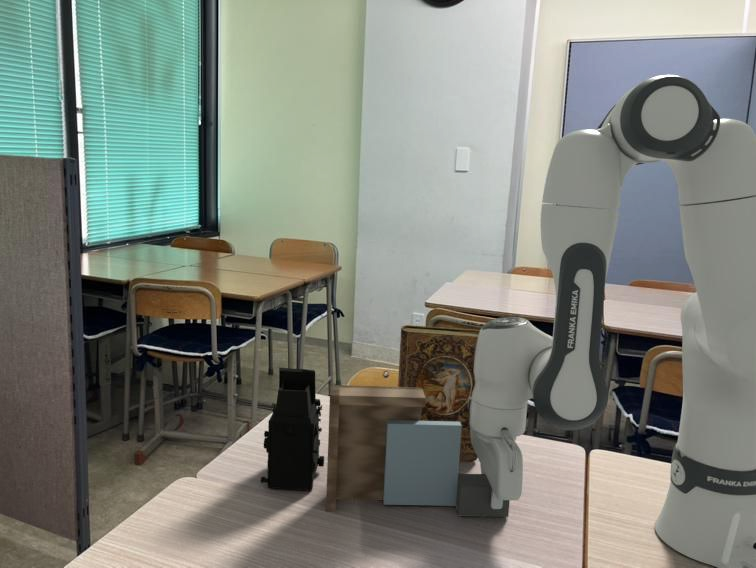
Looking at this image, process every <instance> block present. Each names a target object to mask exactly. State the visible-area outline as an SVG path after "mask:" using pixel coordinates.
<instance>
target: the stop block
mask: <svg viewBox="0 0 756 568" xmlns="http://www.w3.org/2000/svg"><path fill="white" fill-rule="evenodd" d="M490 494H492V487H491V485H490V483H489V480H488V478H487V476H486V474H481V473H458V484H457V498H456V506H455V508H456V510H457V515H458V517H498V518H500V517H501V518H502V517H504V518H505V517H506V518H508V517H509V515H510V514H509V513H510V501H511V500H503V506H502V508H501V509H493V508H492V507H491V505H490V502H489V500H490Z"/></svg>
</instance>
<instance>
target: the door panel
mask: <svg viewBox="0 0 756 568" xmlns="http://www.w3.org/2000/svg"><path fill="white" fill-rule="evenodd" d="M461 429H462V425H461V423H460V422H451V421H411V420H387V432H386V452H385V471H384V491H383V500H382V501H383V505H386V506H387V505H390V506H391V505H392V506H441V507H442V506H444V507H445V506H447V507H448V506H449V507H450V506H451V507H453V506H454V507H456V498H457V484H458V474H459V468H460V461H459V457H460V443H461Z"/></svg>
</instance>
